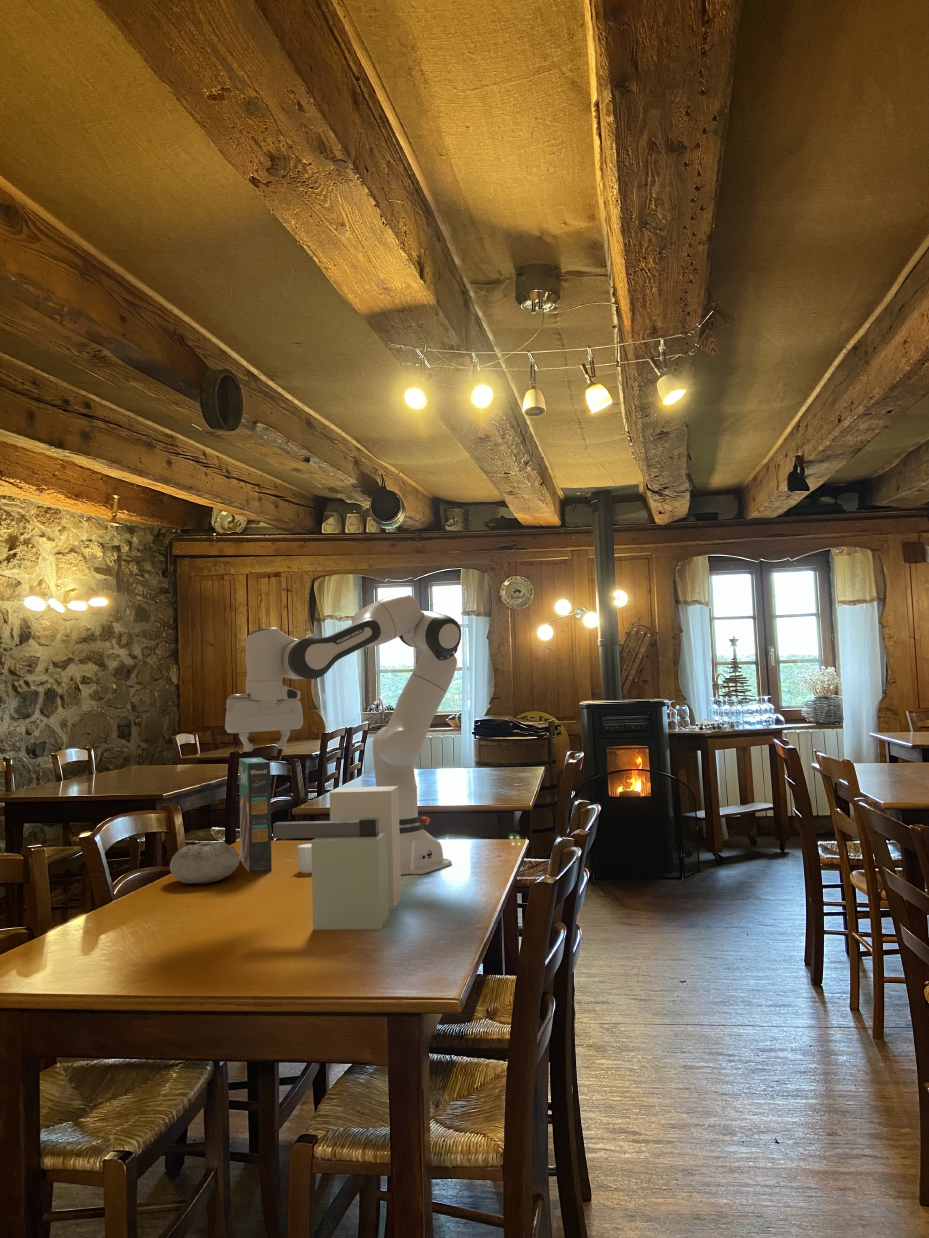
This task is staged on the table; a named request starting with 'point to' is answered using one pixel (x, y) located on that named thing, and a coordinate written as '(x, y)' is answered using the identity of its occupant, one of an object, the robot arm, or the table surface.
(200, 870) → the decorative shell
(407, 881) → the table surface
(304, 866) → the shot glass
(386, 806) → the tall post
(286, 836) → the metal bar
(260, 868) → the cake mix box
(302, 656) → the robot arm
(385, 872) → the low post
